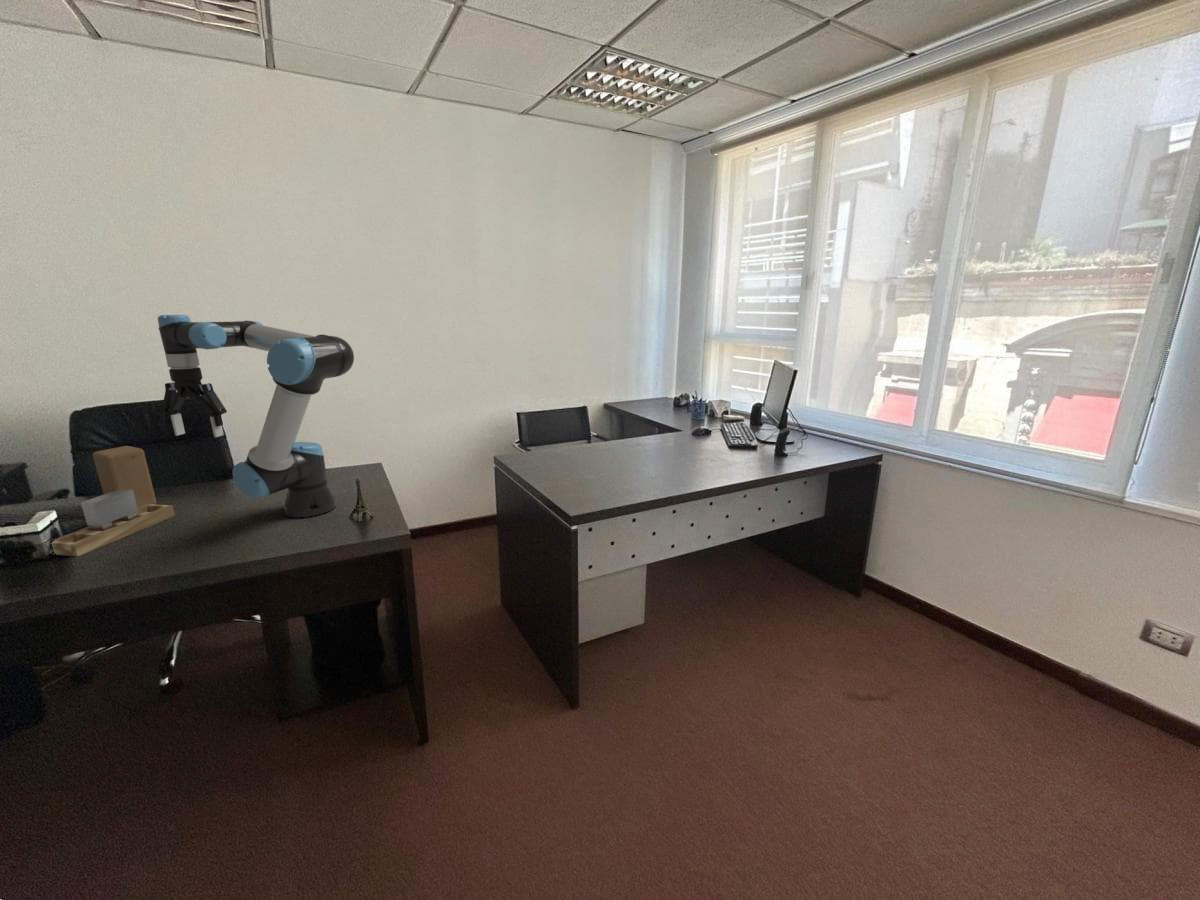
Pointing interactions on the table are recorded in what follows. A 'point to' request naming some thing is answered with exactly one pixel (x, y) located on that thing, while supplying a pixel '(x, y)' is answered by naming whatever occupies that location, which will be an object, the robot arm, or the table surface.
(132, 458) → the wooden block
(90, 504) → the grey concrete brick
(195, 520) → the table surface
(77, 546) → the rail
